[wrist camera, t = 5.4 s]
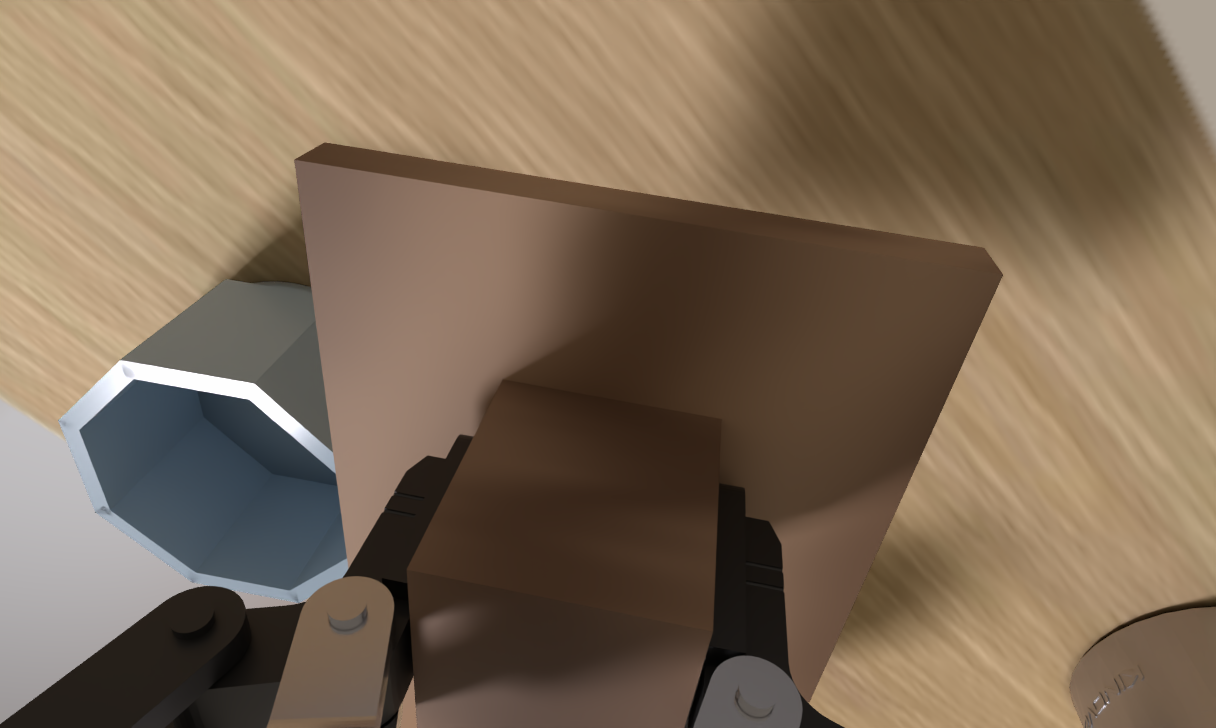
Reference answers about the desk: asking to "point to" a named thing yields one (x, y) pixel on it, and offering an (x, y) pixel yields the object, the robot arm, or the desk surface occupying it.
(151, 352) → the bowl
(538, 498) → the lid
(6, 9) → the desk surface
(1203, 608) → the robot arm
